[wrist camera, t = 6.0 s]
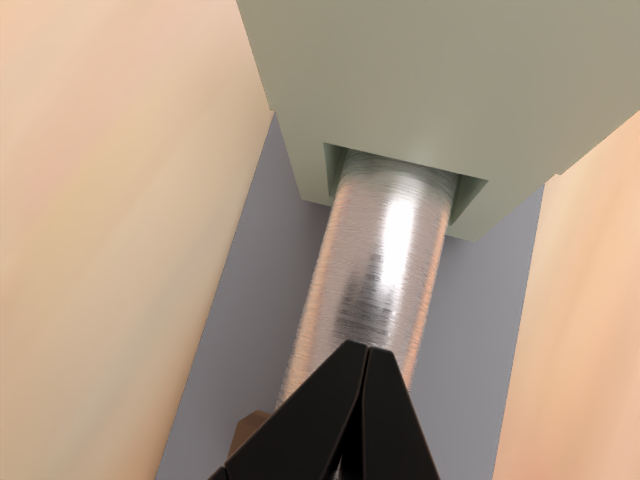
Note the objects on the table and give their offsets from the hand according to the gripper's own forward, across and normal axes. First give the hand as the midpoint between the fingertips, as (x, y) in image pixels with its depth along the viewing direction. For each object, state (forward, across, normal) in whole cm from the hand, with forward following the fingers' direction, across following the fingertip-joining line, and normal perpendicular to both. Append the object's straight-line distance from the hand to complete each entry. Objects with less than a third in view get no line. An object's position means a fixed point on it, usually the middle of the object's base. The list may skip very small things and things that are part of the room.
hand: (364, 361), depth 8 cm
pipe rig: (+9, 0, +2) cm, 9 cm away
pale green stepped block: (+9, 0, 0) cm, 9 cm away
